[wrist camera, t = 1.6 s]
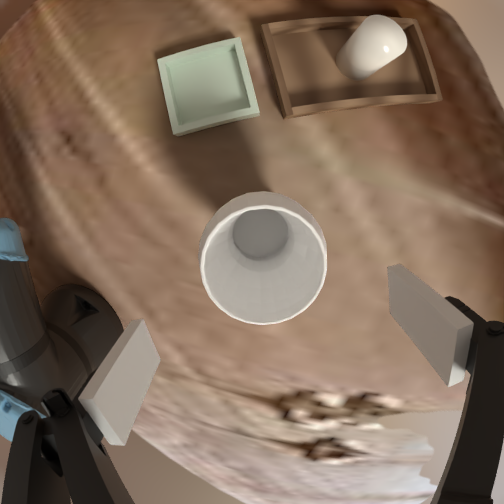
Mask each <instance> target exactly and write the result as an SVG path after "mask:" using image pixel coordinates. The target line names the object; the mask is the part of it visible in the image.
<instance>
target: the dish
mask: <svg viewBox="0 0 504 504" xmlns="http://www.w3.org/2000/svg"><path fill="white" fill-rule="evenodd" d="M157 61H158V66H159V71H160V76H161V81H162V85H163V90H164V95H165V100H166V104H167V109H168V113H169V118H170V122H171V127H172V131H173V135H176V136H182V135H185V134H189V133H192V132H196V131H199V130H203V129H207V128H210V127H214V126H218V125H222V124H226V123H230V122H235V121H239V120H243V119H248V118H252V117H257V116H259V114H260V112H259V108H258V104H257V100H256V96H255V92H254V88H253V84H252V80H251V76H250V73H249V69H248V65H247V61H246V57H245V54H244V50H243V46H242V43H241V39H240V37H237V38H232V39H228V40H223V41H219V42H215V43H211V44H207V45H203V46H200V47H196V48H192V49H189V50H186V51H182V52H179V53H176V54H172V55H169V56H166V57H163V58H160V59H157Z"/></svg>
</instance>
